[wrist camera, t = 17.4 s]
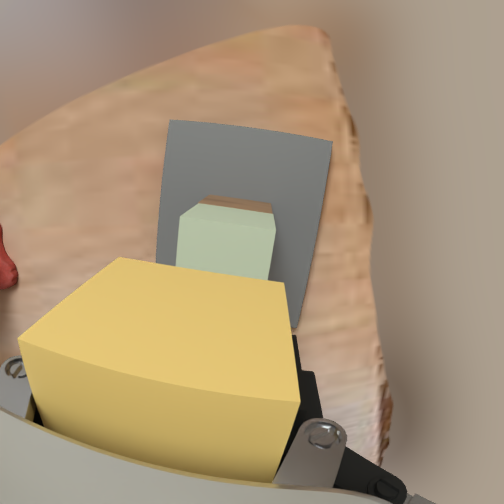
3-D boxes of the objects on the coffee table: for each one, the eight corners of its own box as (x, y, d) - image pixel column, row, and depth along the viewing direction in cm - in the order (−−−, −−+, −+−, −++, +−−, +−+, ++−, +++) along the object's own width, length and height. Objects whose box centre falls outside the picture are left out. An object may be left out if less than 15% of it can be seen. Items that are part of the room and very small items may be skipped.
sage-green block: (261, 284, 27) (260, 317, 22) (191, 273, 27) (173, 303, 22) (273, 214, 26) (276, 230, 20) (198, 203, 26) (180, 216, 20)
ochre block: (258, 408, 13) (253, 528, 7) (124, 383, 13) (70, 484, 7) (284, 282, 11) (300, 401, 5) (119, 256, 11) (17, 338, 5)
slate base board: (295, 321, 37) (296, 328, 35) (158, 300, 36) (154, 305, 35) (329, 142, 31) (332, 141, 30) (173, 121, 31) (169, 119, 29)
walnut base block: (261, 261, 33) (261, 283, 27) (203, 252, 33) (190, 272, 27) (270, 203, 31) (272, 213, 26) (209, 194, 31) (197, 202, 26)
